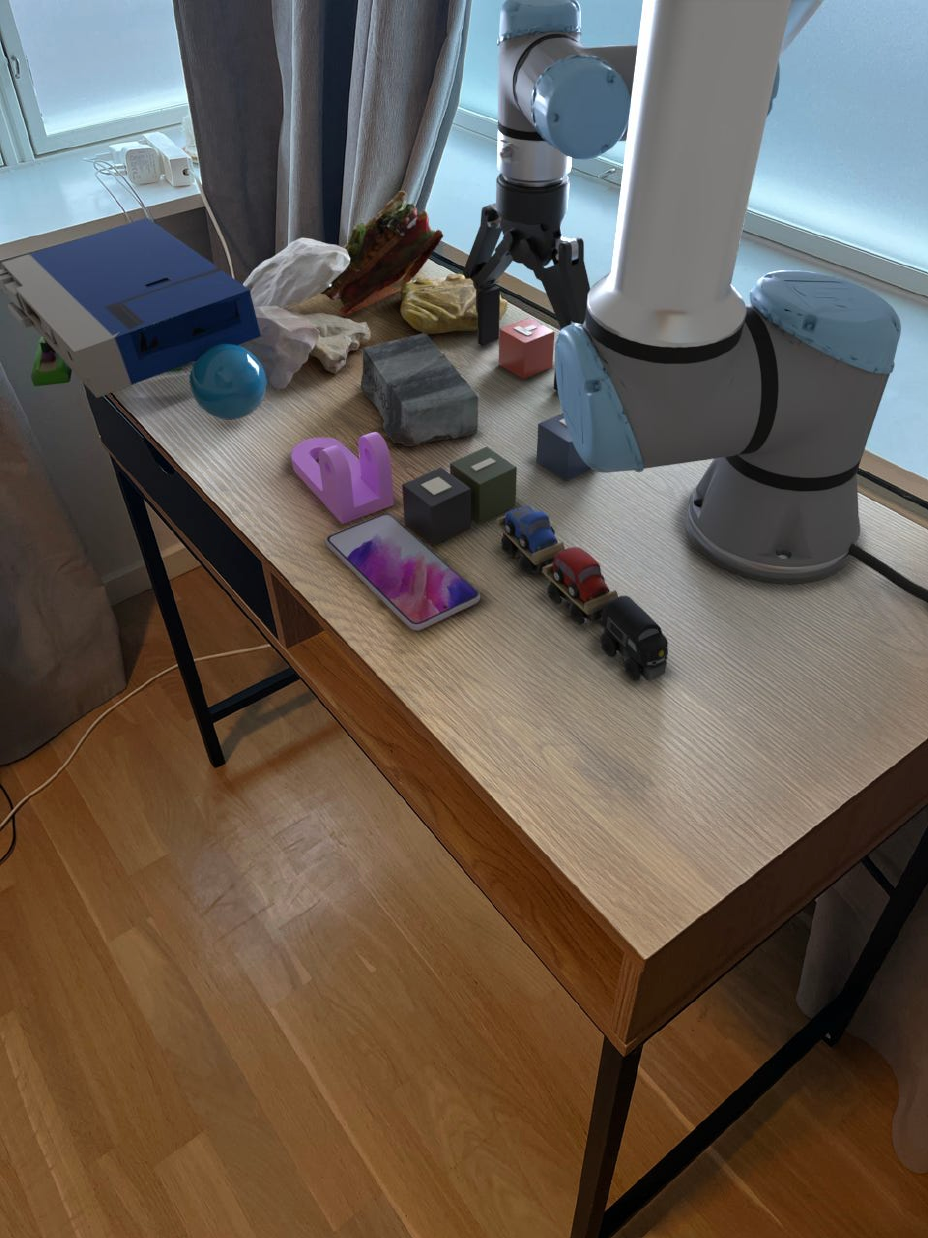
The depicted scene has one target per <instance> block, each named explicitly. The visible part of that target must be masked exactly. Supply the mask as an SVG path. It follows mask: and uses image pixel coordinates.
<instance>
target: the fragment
mask: <svg viewBox="0 0 928 1238" xmlns="http://www.w3.org/2000/svg"><path fill="white" fill-rule="evenodd" d="M349 262H350V257H349V255H348V252H347V250H346V249H345V248H343V246H341V245H338V244H334V243H333V244H332V243H326V242H322V241H321V240H317V239H314V238H309V237H308V238H307V237H300V238H297V239H295V240H293V241H291V242H290V243H289V244H288V245H287V246H286V247H285V248H283V249H282V250H280V251H279V252H278V253H277V254H275V255H273V256H272V257H271V258H268V259H267V258H266V259H265V260H263V261H262V262H261V263H260V264H259V265H258V266H257V267H255V268H254V269H253V270H252V271H251V273H250V275H248V277H247V278H246V279H245V280H244V282H243V283H242V285H244V286H245V287H246V288H248V289H249V290H250V293H251V297H252V301H253V305H254V307H261V306H279V308H283V309H289V308H291V307H293V306H297V305H300V304H302V303H304V302H306V301H308V300H311V299H312V298H314V297H317V296H318V295H321V294H320V293H322V292H323V291H325V290H326V288H328V287H329V284H330V283H331V282H332V281H333V280H334V279H336V278H337V277H338V276H339V275H340V274H341V273H342V272H343V271H344V270H345V269H346V268H347V266H348V265H349Z"/></svg>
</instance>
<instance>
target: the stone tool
mask: <svg viewBox="0 0 928 1238" xmlns="http://www.w3.org/2000/svg"><path fill="white" fill-rule="evenodd" d="M254 309H255V313H256V317H257V322H258V326H259V330H260V334H261V337H258V338H256V339H253V340H250V341H248V342H245V343H242V344H240V345H239V346H241V347H244V348H246V349H247V350H249V351H250V352H251V353H253V354H254V355H255V356H256V357H257V359H258V360H259V361H260V363H261V365H262V366H263V369H264V371H265V375H266V381H267V383H268V384H269V385H270V386H271V387H273V389H274V388H275V389H278V390H283V389H286V388H287V387H288V385H290V382H291V380H292V379H293V376H294V374H295V373H297V372H299V370H300V369H301V367H302V365H303V364H305V363H307V361H308V359H309V357H310V356H309V353H310V352H311V351H312V350H313V348H314V345H315V344H317V343H318V339H319V330H318V329H316V328H315V327H314V326H312V325H310V324H309V323H308V321H307V319H303V318H299V317H297V316H295V315H293V314H291V313H289V312H288V311H287V310H286V309H287V308H286V309H283V308H279V306H261V307H254Z"/></svg>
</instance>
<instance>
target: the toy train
mask: <svg viewBox="0 0 928 1238" xmlns="http://www.w3.org/2000/svg"><path fill="white" fill-rule="evenodd" d="M495 522H496V523H495V525H496V526H497V528H499V530H500V531H501V532H502V537H501V538H500V544H501V549H502V551H503V553H504V554H506V556H507V557H509V558H513V557H514V556H515V553H517V554H518V555H519V556H520V558H519V560H518V561H519V567H520V570H521V571H522V572H523V573H524V574H525V575H526V576H527V577H532V576H533V575H534V573H537V574H541V573H542V574H543V575H544V576H545V577H546V578H547V579H548V580H549V584H548V585H547V587H546V592H547V597H548V598H549V599H550V601H551V602H552V603H553V604H555V605H561V604H562V603H563V599H564V600H565V601H566V602H567V603H568V604H570V605H569V606H568V609H569V610H568V611H569V615H570V618H571V619H572V620H573V622H574V623H575V624H577V625H578V626H582V625H583V624H585V621H586V620H587V621H588V622H589V623H591V624H595V623H596V622H598V623H599V624H600V626H601V627H602V628H603V633H602V634H601V635H600V638H599V642H600V648H601V650H602V651H603V652H604V654H605V655H606V656H607V657H610V658H615V657H616V656H617V654H618V653H619V655H621V656H622V657H623V658H624V660H623V667H624V672H625V673H626V674H627V676H628V677H629V678H630V679H631V680H633V681H638V680H640V678H641V677H643V679H644V680H646V681H647V682H649V681H652V680H655V679H657V678H659V677H661V676H663V675H665V674H666V670H667V664H668V657H669V655H668V654H669V651H668V650H669V648H668V647H669V646H668V645H669V644H668V643H669V642H668V639H667V637H666V636H665V635H664V633H663V630H662V628H661V627H660V625H659V624H658V623H657V622H656V621H655V620H654V619H653V618H652V617H651V616H650V615H649V614H648V613H647V612H646V611H644V609H643V608H642V607H640V605H638V603H636V602H635V601H634V600H633V598H632V597H630V596H629V595H620V596H619V594H618V591H617V590H616V589H615V590H613V591H610V588H609V587H608V585H607V583H606V580H605V577H604V575H603V574H602V569H601V565H600V563H599V562H598V561H597V560H596V559H595V558H594V557H593V556H592V555H591V554H590V553H588V552H587V551H585V550H584V549H582V548H580V547H579V546H571V547H566V546H565V543H564V542H563V541H558V539H557V536H556V533H555V529H554V527H553V526H552V525H551V522H550V517H549V516H548V514H547V513H546V512H545V511H544V510H535V509H534V508H533V507H532V506H531V505H529V504H527V505H523V506H521V507H518V508H515V509H512V510H509V511H507V512H505V515H504V516H500V517H498V518H496V519H495Z"/></svg>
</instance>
